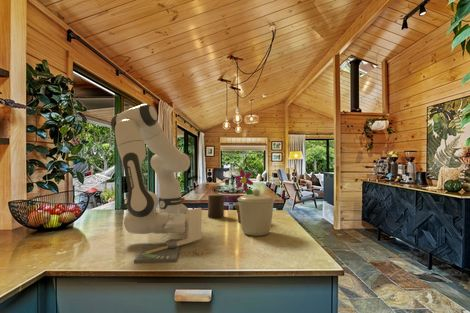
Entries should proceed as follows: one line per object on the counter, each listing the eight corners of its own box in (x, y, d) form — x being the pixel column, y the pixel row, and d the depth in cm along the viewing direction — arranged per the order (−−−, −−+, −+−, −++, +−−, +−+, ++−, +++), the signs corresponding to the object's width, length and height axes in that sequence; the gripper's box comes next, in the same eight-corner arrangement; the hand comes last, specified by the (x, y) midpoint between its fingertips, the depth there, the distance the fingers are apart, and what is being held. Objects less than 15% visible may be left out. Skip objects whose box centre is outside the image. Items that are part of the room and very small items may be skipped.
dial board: (143, 249, 106) (143, 246, 106) (179, 248, 108) (179, 245, 108) (133, 262, 93) (133, 259, 93) (175, 261, 94) (175, 258, 94)
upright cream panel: (197, 237, 118) (197, 207, 119) (203, 239, 116) (203, 208, 116) (142, 252, 99) (143, 216, 99) (148, 255, 96) (149, 218, 96)
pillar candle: (217, 219, 161) (217, 193, 162) (204, 217, 167) (205, 192, 167) (226, 216, 170) (227, 192, 170) (214, 214, 175) (214, 191, 175)
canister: (231, 230, 136) (231, 188, 136) (263, 227, 143) (263, 186, 143) (247, 240, 119) (247, 192, 119) (282, 236, 126) (282, 190, 127)
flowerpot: (229, 222, 153) (229, 169, 153) (243, 218, 164) (243, 168, 165) (251, 226, 144) (251, 169, 145) (264, 221, 156) (264, 169, 157)
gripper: (160, 221, 106) (196, 220, 108) (167, 211, 127) (198, 210, 128) (160, 237, 106) (196, 236, 108) (167, 224, 127) (197, 224, 128)
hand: (197, 222), depth 118 cm, fingers closed
